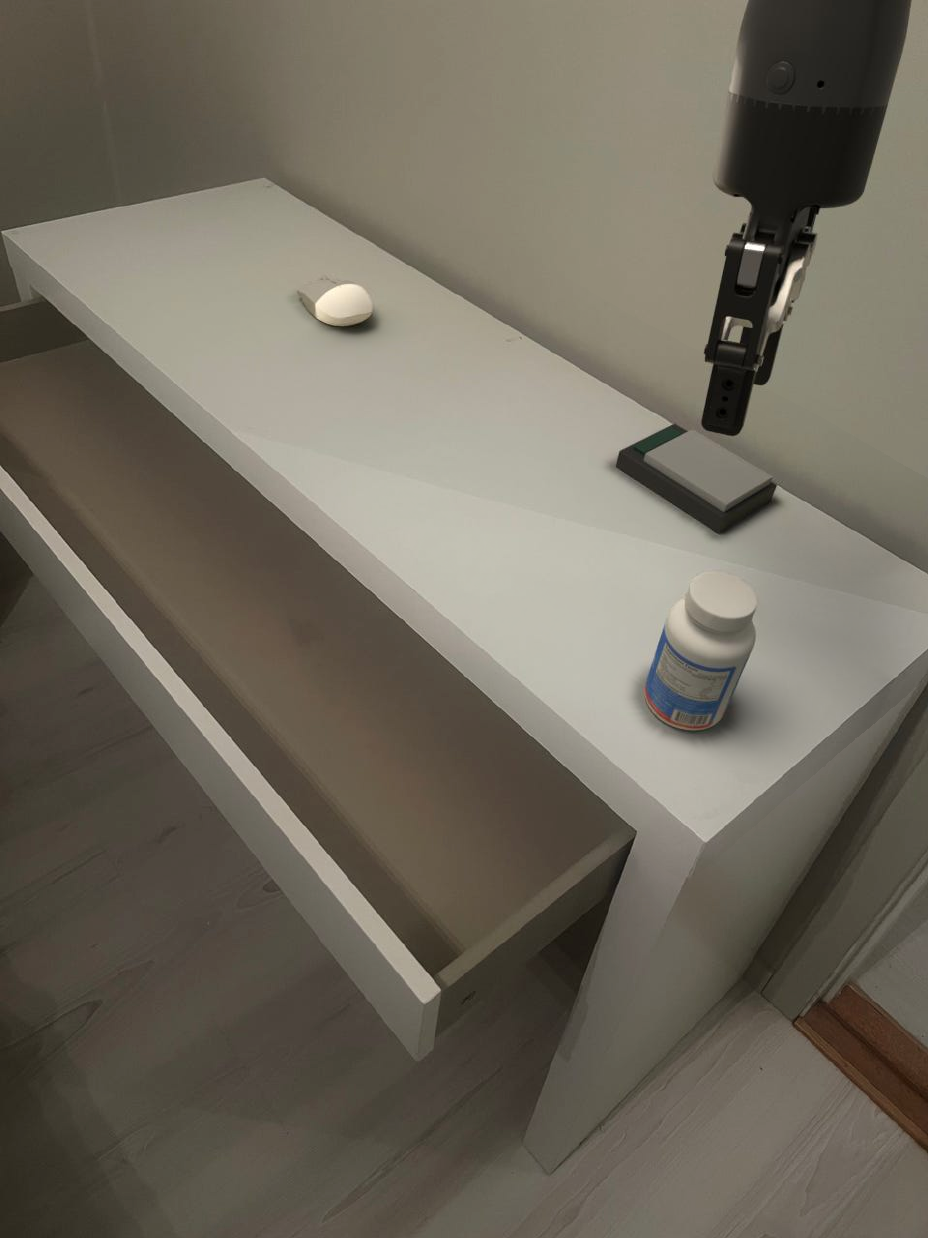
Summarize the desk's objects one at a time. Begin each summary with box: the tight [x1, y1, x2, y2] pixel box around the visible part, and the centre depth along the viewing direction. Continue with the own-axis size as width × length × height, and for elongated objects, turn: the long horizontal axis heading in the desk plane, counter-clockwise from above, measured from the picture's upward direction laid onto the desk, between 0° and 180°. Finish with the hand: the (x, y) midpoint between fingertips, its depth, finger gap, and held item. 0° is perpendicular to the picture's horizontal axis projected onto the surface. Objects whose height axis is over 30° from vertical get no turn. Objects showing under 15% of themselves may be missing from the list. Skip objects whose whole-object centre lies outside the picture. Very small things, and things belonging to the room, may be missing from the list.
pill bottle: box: [644, 571, 758, 731], centre depth 58 cm, size 6×5×10 cm
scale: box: [615, 423, 778, 534], centre depth 78 cm, size 11×8×2 cm
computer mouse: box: [296, 275, 374, 327], centre depth 94 cm, size 6×10×3 cm, turn 32°
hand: (736, 404), depth 55 cm, fingers open, 8 cm apart
